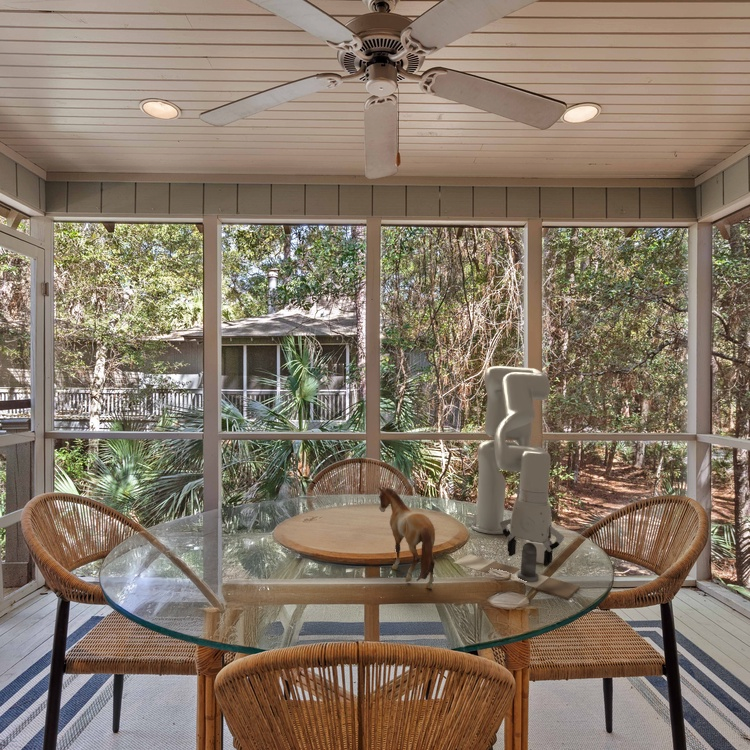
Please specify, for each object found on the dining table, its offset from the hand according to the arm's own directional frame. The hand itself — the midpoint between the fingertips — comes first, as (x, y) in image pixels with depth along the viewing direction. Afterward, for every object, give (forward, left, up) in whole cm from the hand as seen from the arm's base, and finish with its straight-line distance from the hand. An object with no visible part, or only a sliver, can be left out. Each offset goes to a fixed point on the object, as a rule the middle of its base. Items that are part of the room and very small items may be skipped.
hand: (529, 559), depth 140 cm
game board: (-4, 0, -5) cm, 7 cm away
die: (-4, +17, -5) cm, 18 cm away
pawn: (0, 0, -5) cm, 5 cm away
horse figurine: (-26, -24, -6) cm, 36 cm away
